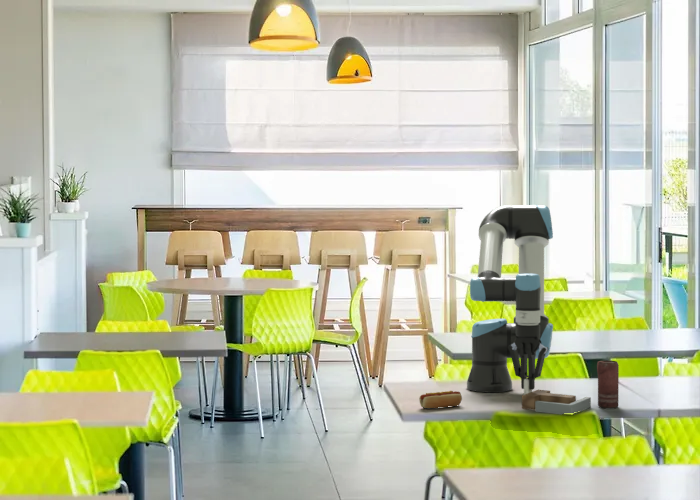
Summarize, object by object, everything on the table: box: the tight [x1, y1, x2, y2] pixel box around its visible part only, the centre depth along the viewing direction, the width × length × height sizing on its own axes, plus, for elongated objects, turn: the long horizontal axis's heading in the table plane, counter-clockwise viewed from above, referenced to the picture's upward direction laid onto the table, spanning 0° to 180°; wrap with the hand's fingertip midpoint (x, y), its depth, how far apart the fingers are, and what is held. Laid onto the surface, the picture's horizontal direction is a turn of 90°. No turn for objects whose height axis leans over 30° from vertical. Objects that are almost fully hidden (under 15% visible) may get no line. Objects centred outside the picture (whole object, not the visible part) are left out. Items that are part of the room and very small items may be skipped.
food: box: [419, 390, 463, 409], centre depth 327 cm, size 14×6×5 cm, turn 115°
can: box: [596, 359, 620, 409], centre depth 325 cm, size 6×6×14 cm
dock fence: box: [534, 396, 592, 415], centre depth 322 cm, size 12×15×3 cm
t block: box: [521, 389, 577, 411], centre depth 326 cm, size 14×12×4 cm
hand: (527, 399), depth 330 cm, fingers closed
